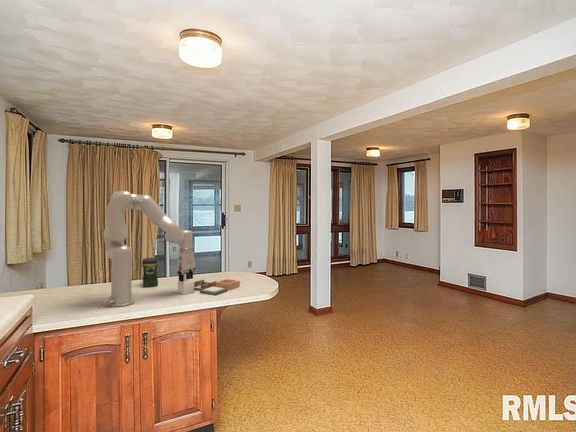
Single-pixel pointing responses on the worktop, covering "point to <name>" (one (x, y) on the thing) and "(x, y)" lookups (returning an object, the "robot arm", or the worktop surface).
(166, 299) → the worktop surface
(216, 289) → the tester pad
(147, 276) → the coffee jar
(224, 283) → the reddish brown square tray
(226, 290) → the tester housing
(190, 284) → the medicine bottle
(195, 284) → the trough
